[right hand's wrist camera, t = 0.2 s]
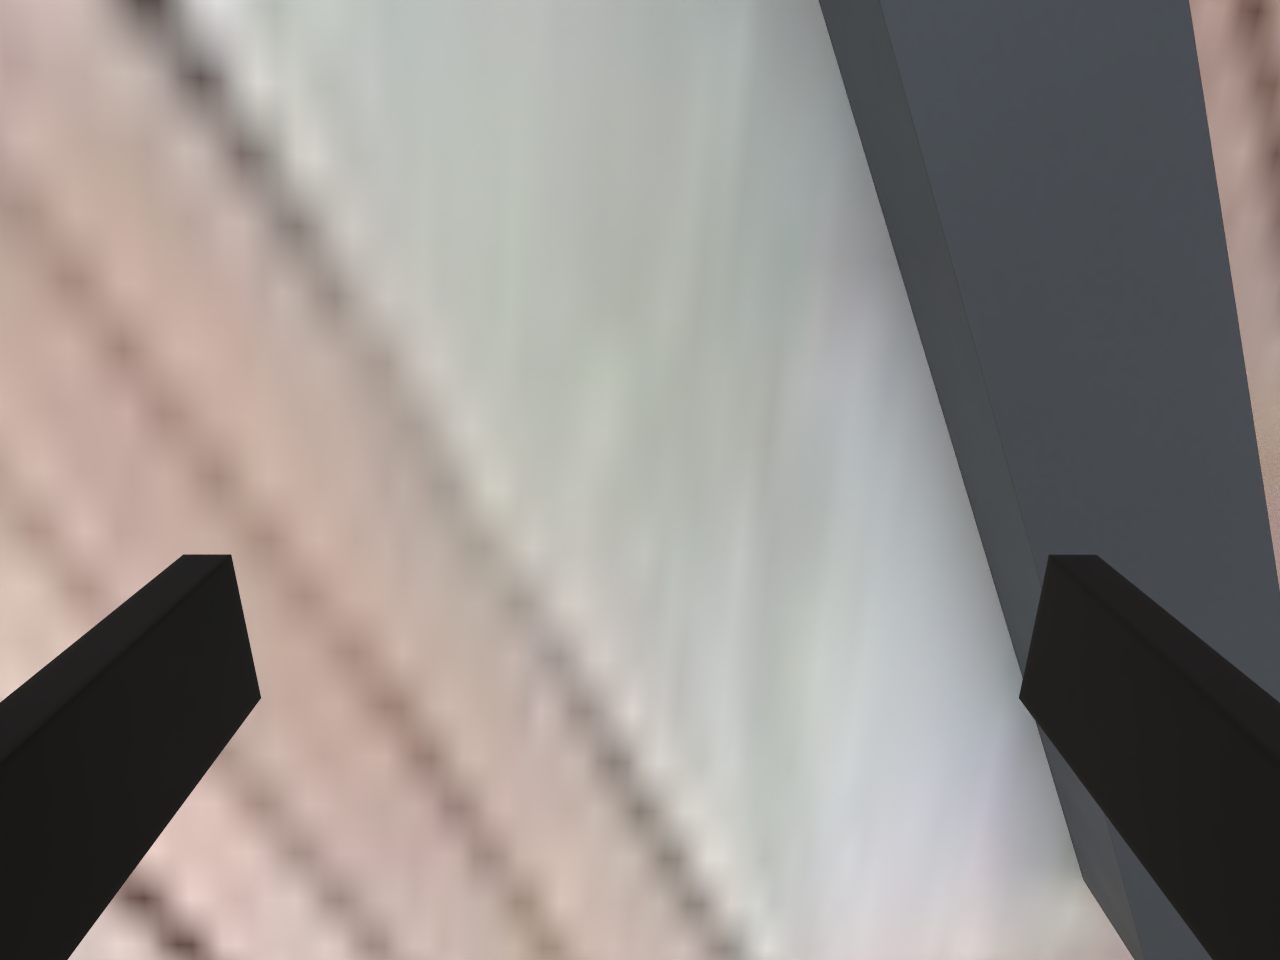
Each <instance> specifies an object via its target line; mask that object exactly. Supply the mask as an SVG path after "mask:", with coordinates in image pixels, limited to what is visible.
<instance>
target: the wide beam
mask: <svg viewBox="0 0 1280 960" xmlns="http://www.w3.org/2000/svg"><path fill="white" fill-rule="evenodd" d="M819 2H820V6H821V9H822V12H823V15H824V19H825V22H826V25H827V29H828V32H829V35H830V39H831V42H832V45H833V49H834V52H835V55H836V59H837V62H838V65H839V69H840V72H841V75H842V79H843V82H844V85H845V89H846V92H847V95H848V99H849V102H850V105H851V109H852V112H853V115H854V118H855V122H856V125H857V128H858V132H859V135H860V138H861V142H862V145H863V148H864V152H865V155H866V158H867V162H868V165H869V168H870V172H871V175H872V178H873V182H874V185H875V188H876V192H877V195H878V198H879V202H880V205H881V208H882V212H883V215H884V218H885V221H886V225H887V228H888V231H889V235H890V238H891V241H892V245H893V248H894V251H895V255H896V258H897V261H898V265H899V268H900V271H901V275H902V278H903V281H904V285H905V288H906V291H907V295H908V298H909V301H910V305H911V308H912V311H913V315H914V318H915V321H916V324H917V328H918V331H919V334H920V338H921V341H922V344H923V348H924V351H925V354H926V358H927V361H928V364H929V368H930V371H931V374H932V378H933V381H934V384H935V388H936V391H937V394H938V398H939V401H940V404H941V408H942V411H943V414H944V418H945V421H946V424H947V428H948V431H949V434H950V437H951V441H952V444H953V447H954V451H955V454H956V457H957V461H958V464H959V467H960V471H961V474H962V477H963V481H964V484H965V487H966V491H967V494H968V497H969V501H970V504H971V507H972V511H973V514H974V517H975V521H976V524H977V527H978V531H979V534H980V537H981V540H982V544H983V547H984V550H985V554H986V557H987V560H988V564H989V567H990V570H991V574H992V577H993V580H994V584H995V587H996V590H997V594H998V597H999V600H1000V604H1001V607H1002V610H1003V614H1004V617H1005V620H1006V624H1007V627H1008V630H1009V634H1010V637H1011V640H1012V643H1013V647H1014V650H1015V653H1016V657H1017V660H1018V663H1019V667H1020V670H1021V673H1022V677H1023V676H1024V672H1025V667H1026V662H1027V657H1028V652H1029V648H1030V643H1031V638H1032V633H1033V628H1034V624H1035V619H1036V614H1037V609H1038V604H1039V600H1040V595H1041V590H1042V585H1043V580H1044V576H1045V571H1046V566H1047V561H1048V556H1049V555H1098V556H1099V557H1100V558H1101V559H1103V560H1104V561H1105V562H1106V563H1108V564H1109V565H1110V566H1111V567H1112V568H1114V569H1115V570H1116V571H1117V572H1119V573H1120V574H1121V575H1122V576H1124V577H1125V578H1126V579H1127V580H1129V581H1130V582H1131V583H1132V584H1134V585H1135V586H1136V587H1137V588H1138V589H1140V590H1141V591H1142V592H1143V593H1145V594H1146V595H1147V596H1148V597H1150V598H1151V599H1152V600H1153V601H1155V602H1156V603H1157V604H1158V605H1160V606H1161V607H1162V608H1163V609H1164V610H1166V611H1167V612H1168V613H1169V614H1171V615H1172V616H1173V617H1174V618H1176V619H1177V620H1178V621H1179V622H1181V623H1182V624H1183V625H1184V626H1186V627H1187V628H1188V629H1189V630H1190V631H1192V632H1193V633H1194V634H1195V635H1197V636H1198V637H1199V638H1200V639H1202V640H1203V641H1204V642H1205V643H1207V644H1208V645H1209V646H1210V647H1212V648H1213V649H1214V650H1215V651H1216V652H1218V653H1219V654H1220V655H1221V656H1223V657H1224V658H1225V659H1226V660H1228V661H1229V662H1230V663H1231V664H1233V665H1234V666H1235V667H1236V668H1237V669H1239V670H1240V671H1241V672H1242V673H1244V674H1245V675H1246V676H1247V677H1249V678H1250V679H1251V680H1252V681H1254V682H1255V683H1256V684H1257V685H1259V686H1260V687H1261V688H1262V689H1263V690H1265V691H1266V692H1267V693H1268V694H1270V695H1271V696H1272V697H1273V698H1275V699H1276V700H1277V701H1278V702H1280V590H1279V583H1278V577H1277V570H1276V564H1275V557H1274V551H1273V544H1272V538H1271V531H1270V525H1269V518H1268V512H1267V505H1266V499H1265V492H1264V486H1263V479H1262V473H1261V467H1260V460H1259V453H1258V447H1257V441H1256V434H1255V428H1254V421H1253V415H1252V408H1251V402H1250V395H1249V389H1248V382H1247V376H1246V369H1245V363H1244V356H1243V350H1242V343H1241V337H1240V330H1239V324H1238V317H1237V311H1236V304H1235V298H1234V291H1233V285H1232V278H1231V272H1230V265H1229V259H1228V252H1227V246H1226V239H1225V233H1224V226H1223V220H1222V213H1221V207H1220V200H1219V194H1218V187H1217V181H1216V174H1215V168H1214V161H1213V155H1212V148H1211V142H1210V135H1209V129H1208V122H1207V116H1206V109H1205V103H1204V96H1203V90H1202V83H1201V77H1200V70H1199V64H1198V57H1197V51H1196V44H1195V38H1194V31H1193V25H1192V18H1191V12H1190V5H1189V0H819ZM1036 723H1037V722H1036ZM1037 727H1038V730H1039V733H1040V737H1041V740H1042V743H1043V746H1044V750H1045V753H1046V756H1047V760H1048V763H1049V766H1050V770H1051V773H1052V776H1053V780H1054V783H1055V786H1056V790H1057V793H1058V796H1059V800H1060V803H1061V806H1062V810H1063V813H1064V816H1065V820H1066V823H1067V826H1068V830H1069V833H1070V836H1071V840H1072V843H1073V846H1074V849H1075V853H1076V856H1077V859H1078V863H1079V866H1080V869H1081V873H1082V876H1083V879H1084V881H1085V883H1086V885H1087V886H1088V888H1089V889H1090V891H1091V892H1092V894H1093V896H1094V897H1095V899H1096V900H1097V902H1098V903H1099V905H1100V906H1101V908H1102V910H1103V911H1104V913H1105V914H1106V916H1107V917H1108V919H1109V921H1110V922H1111V924H1112V925H1113V927H1114V928H1115V930H1116V932H1117V933H1118V935H1119V936H1120V938H1121V939H1122V941H1123V942H1124V944H1125V946H1126V947H1127V949H1128V950H1129V952H1130V953H1131V955H1132V957H1133V958H1134V960H1212V958H1211V957H1210V956H1209V954H1208V953H1207V951H1206V950H1205V949H1204V947H1203V946H1202V945H1201V943H1200V942H1199V941H1198V939H1197V938H1196V937H1195V935H1194V934H1193V933H1192V931H1191V930H1190V928H1189V927H1188V926H1187V924H1186V923H1185V922H1184V920H1183V919H1182V918H1181V916H1180V915H1179V914H1178V912H1177V911H1176V910H1175V908H1174V907H1173V906H1172V904H1171V903H1170V901H1169V900H1168V899H1167V897H1166V896H1165V895H1164V893H1163V892H1162V891H1161V889H1160V888H1159V887H1158V885H1157V884H1156V883H1155V881H1154V880H1153V878H1152V877H1151V876H1150V874H1149V873H1148V872H1147V870H1146V869H1145V868H1144V866H1143V865H1142V864H1141V862H1140V861H1139V860H1138V858H1137V857H1136V856H1135V854H1134V853H1133V851H1132V850H1131V849H1130V847H1129V846H1128V845H1127V843H1126V842H1125V841H1124V839H1123V838H1122V837H1121V835H1120V834H1119V833H1118V831H1117V830H1116V828H1115V827H1114V826H1113V824H1112V823H1111V822H1110V820H1109V819H1108V818H1107V816H1106V815H1105V814H1104V812H1103V811H1102V810H1101V808H1100V807H1099V805H1098V804H1097V803H1096V801H1095V800H1094V799H1093V797H1092V796H1091V795H1090V793H1089V792H1088V791H1087V789H1086V788H1085V787H1084V785H1083V784H1082V783H1081V781H1080V780H1079V778H1078V777H1077V776H1076V774H1075V773H1074V772H1073V770H1072V769H1071V768H1070V766H1069V765H1068V764H1067V762H1066V761H1065V760H1064V758H1063V757H1062V755H1061V754H1060V753H1059V751H1058V750H1057V749H1056V747H1055V746H1054V745H1053V743H1052V742H1051V741H1050V739H1049V738H1048V737H1047V735H1046V734H1045V733H1044V731H1043V730H1042V728H1041V727H1040V726H1039V724H1038V723H1037Z"/></svg>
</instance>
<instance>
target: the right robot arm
mask: <svg viewBox="0 0 1280 960" xmlns="http://www.w3.org/2000/svg"><path fill="white" fill-rule="evenodd" d="M260 699H261V696H260V691H259V686H258V681H257V676H256V672H255V667H254V662H253V657H252V652H251V648H250V643H249V638H248V633H247V628H246V624H245V619H244V614H243V609H242V604H241V600H240V595H239V590H238V585H237V580H236V576H235V571H234V566H233V561H232V556H231V555H182V556H181V557H180V558H179V559H177V560H176V561H175V562H174V563H172V564H171V565H170V566H169V567H168V568H166V569H165V570H164V571H163V572H161V573H160V574H159V575H158V576H156V577H155V578H154V579H153V580H151V581H150V582H149V583H148V584H146V585H145V586H144V587H143V588H142V589H140V590H139V591H138V592H137V593H135V594H134V595H133V596H132V597H130V598H129V599H128V600H127V601H125V602H124V603H123V604H122V605H120V606H119V607H118V608H117V609H116V610H114V611H113V612H112V613H111V614H109V615H108V616H107V617H106V618H104V619H103V620H102V621H101V622H99V623H98V624H97V625H96V626H94V627H93V628H92V629H91V630H90V631H88V632H87V633H86V634H85V635H83V636H82V637H81V638H80V639H78V640H77V641H76V642H75V643H73V644H72V645H71V646H70V647H68V648H67V649H66V650H65V651H64V652H62V653H61V654H60V655H59V656H57V657H56V658H55V659H54V660H52V661H51V662H50V663H49V664H47V665H46V666H45V667H44V668H43V669H41V670H40V671H39V672H38V673H36V674H35V675H34V676H33V677H31V678H30V679H29V680H28V681H26V682H25V683H24V684H23V685H21V686H20V687H19V688H18V689H17V690H15V691H14V692H13V693H12V694H10V695H9V696H8V697H7V698H5V699H4V700H3V701H2V702H0V960H68V958H69V957H70V956H71V954H72V953H73V951H74V950H75V949H76V947H77V946H78V945H79V943H80V942H81V941H82V939H83V938H84V937H85V935H86V934H87V933H88V931H89V930H90V928H91V927H92V926H93V924H94V923H95V922H96V920H97V919H98V918H99V916H100V915H101V914H102V912H103V911H104V910H105V908H106V907H107V906H108V904H109V903H110V901H111V900H112V899H113V897H114V896H115V895H116V893H117V892H118V891H119V889H120V888H121V887H122V885H123V884H124V883H125V881H126V880H127V878H128V877H129V876H130V874H131V873H132V872H133V870H134V869H135V868H136V866H137V865H138V864H139V862H140V861H141V860H142V858H143V857H144V856H145V854H146V853H147V851H148V850H149V849H150V847H151V846H152V845H153V843H154V842H155V841H156V839H157V838H158V837H159V835H160V834H161V833H162V831H163V830H164V828H165V827H166V826H167V824H168V823H169V822H170V820H171V819H172V818H173V816H174V815H175V814H176V812H177V811H178V810H179V808H180V807H181V805H182V804H183V803H184V801H185V800H186V799H187V797H188V796H189V795H190V793H191V792H192V791H193V789H194V788H195V787H196V785H197V784H198V783H199V781H200V780H201V778H202V777H203V776H204V774H205V773H206V772H207V770H208V769H209V768H210V766H211V765H212V764H213V762H214V761H215V760H216V758H217V757H218V755H219V754H220V753H221V751H222V750H223V749H224V747H225V746H226V745H227V743H228V742H229V741H230V739H231V738H232V737H233V735H234V734H235V733H236V731H237V730H238V728H239V727H240V726H241V724H242V723H243V722H244V720H245V719H246V718H247V716H248V715H249V714H250V712H251V711H252V710H253V708H254V707H255V705H256V704H257V703H258V701H259V700H260ZM1019 699H1020V700H1021V701H1022V703H1023V704H1024V705H1025V707H1026V708H1027V710H1028V711H1029V712H1030V714H1031V715H1032V716H1033V718H1034V719H1035V720H1036V722H1037V723H1038V724H1039V726H1040V727H1041V728H1042V730H1043V731H1044V733H1045V734H1046V735H1047V737H1048V738H1049V739H1050V741H1051V742H1052V743H1053V745H1054V746H1055V747H1056V749H1057V750H1058V751H1059V753H1060V754H1061V755H1062V757H1063V758H1064V760H1065V761H1066V762H1067V764H1068V765H1069V766H1070V768H1071V769H1072V770H1073V772H1074V773H1075V774H1076V776H1077V777H1078V778H1079V780H1080V781H1081V783H1082V784H1083V785H1084V787H1085V788H1086V789H1087V791H1088V792H1089V793H1090V795H1091V796H1092V797H1093V799H1094V800H1095V801H1096V803H1097V804H1098V805H1099V807H1100V808H1101V810H1102V811H1103V812H1104V814H1105V815H1106V816H1107V818H1108V819H1109V820H1110V822H1111V823H1112V824H1113V826H1114V827H1115V828H1116V830H1117V831H1118V833H1119V834H1120V835H1121V837H1122V838H1123V839H1124V841H1125V842H1126V843H1127V845H1128V846H1129V847H1130V849H1131V850H1132V851H1133V853H1134V854H1135V856H1136V857H1137V858H1138V860H1139V861H1140V862H1141V864H1142V865H1143V866H1144V868H1145V869H1146V870H1147V872H1148V873H1149V874H1150V876H1151V877H1152V878H1153V880H1154V881H1155V883H1156V884H1157V885H1158V887H1159V888H1160V889H1161V891H1162V892H1163V893H1164V895H1165V896H1166V897H1167V899H1168V900H1169V901H1170V903H1171V904H1172V906H1173V907H1174V908H1175V910H1176V911H1177V912H1178V914H1179V915H1180V916H1181V918H1182V919H1183V920H1184V922H1185V923H1186V924H1187V926H1188V927H1189V928H1190V930H1191V931H1192V933H1193V934H1194V935H1195V937H1196V938H1197V939H1198V941H1199V942H1200V943H1201V945H1202V946H1203V947H1204V949H1205V950H1206V951H1207V953H1208V954H1209V956H1210V957H1211V958H1212V960H1280V702H1278V701H1277V700H1276V699H1275V698H1273V697H1272V696H1271V695H1270V694H1268V693H1267V692H1266V691H1265V690H1263V689H1262V688H1261V687H1260V686H1259V685H1257V684H1256V683H1255V682H1254V681H1252V680H1251V679H1250V678H1249V677H1247V676H1246V675H1245V674H1244V673H1242V672H1241V671H1240V670H1239V669H1237V668H1236V667H1235V666H1234V665H1233V664H1231V663H1230V662H1229V661H1228V660H1226V659H1225V658H1224V657H1223V656H1221V655H1220V654H1219V653H1218V652H1216V651H1215V650H1214V649H1213V648H1212V647H1210V646H1209V645H1208V644H1207V643H1205V642H1204V641H1203V640H1202V639H1200V638H1199V637H1198V636H1197V635H1195V634H1194V633H1193V632H1192V631H1190V630H1189V629H1188V628H1187V627H1186V626H1184V625H1183V624H1182V623H1181V622H1179V621H1178V620H1177V619H1176V618H1174V617H1173V616H1172V615H1171V614H1169V613H1168V612H1167V611H1166V610H1164V609H1163V608H1162V607H1161V606H1160V605H1158V604H1157V603H1156V602H1155V601H1153V600H1152V599H1151V598H1150V597H1148V596H1147V595H1146V594H1145V593H1143V592H1142V591H1141V590H1140V589H1138V588H1137V587H1136V586H1135V585H1134V584H1132V583H1131V582H1130V581H1129V580H1127V579H1126V578H1125V577H1124V576H1122V575H1121V574H1120V573H1119V572H1117V571H1116V570H1115V569H1114V568H1112V567H1111V566H1110V565H1109V564H1108V563H1106V562H1105V561H1104V560H1103V559H1101V558H1100V557H1099V556H1098V555H1049V556H1048V561H1047V566H1046V571H1045V576H1044V580H1043V585H1042V590H1041V595H1040V600H1039V604H1038V609H1037V614H1036V619H1035V624H1034V628H1033V633H1032V638H1031V643H1030V648H1029V652H1028V657H1027V662H1026V667H1025V672H1024V676H1023V681H1022V686H1021V691H1020V696H1019Z"/></svg>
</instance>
